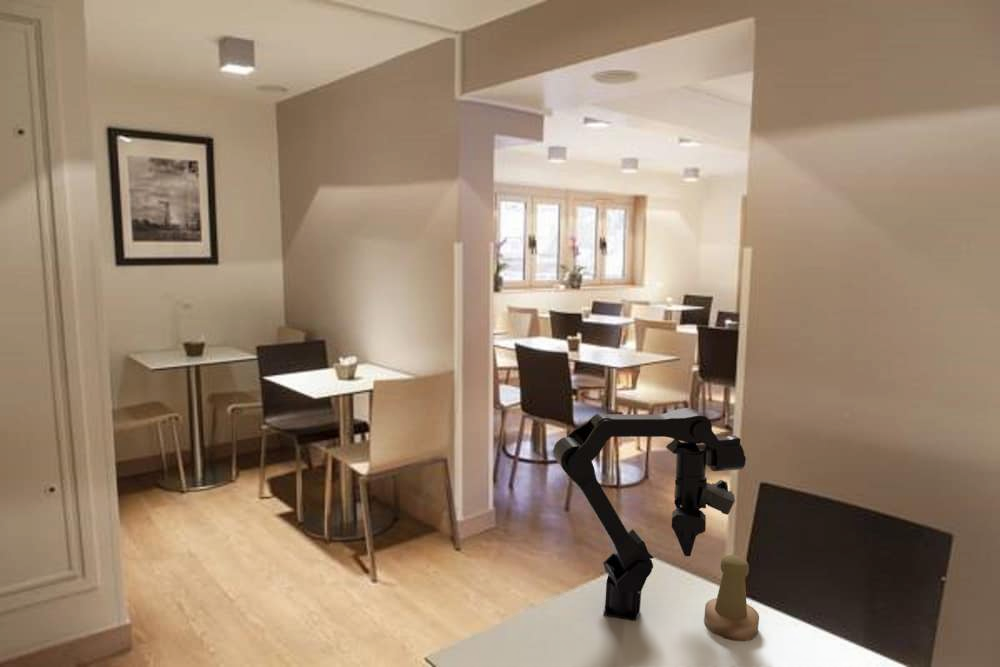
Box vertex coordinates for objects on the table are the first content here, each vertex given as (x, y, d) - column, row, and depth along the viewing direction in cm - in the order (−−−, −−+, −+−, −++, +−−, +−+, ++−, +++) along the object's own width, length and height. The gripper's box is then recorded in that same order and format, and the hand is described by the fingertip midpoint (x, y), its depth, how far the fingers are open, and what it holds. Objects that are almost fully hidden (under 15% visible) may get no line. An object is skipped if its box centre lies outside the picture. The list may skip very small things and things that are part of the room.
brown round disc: (704, 634, 125) (705, 620, 125) (703, 607, 135) (704, 594, 135) (760, 645, 123) (761, 630, 122) (755, 616, 132) (756, 603, 132)
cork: (749, 622, 125) (754, 567, 123) (716, 617, 126) (721, 563, 125) (744, 605, 131) (749, 553, 129) (712, 601, 132) (717, 549, 130)
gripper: (735, 493, 120) (731, 573, 122) (730, 460, 138) (727, 530, 140) (672, 487, 123) (670, 565, 126) (676, 456, 141) (673, 524, 143)
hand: (687, 545), depth 134 cm, fingers open, 9 cm apart
